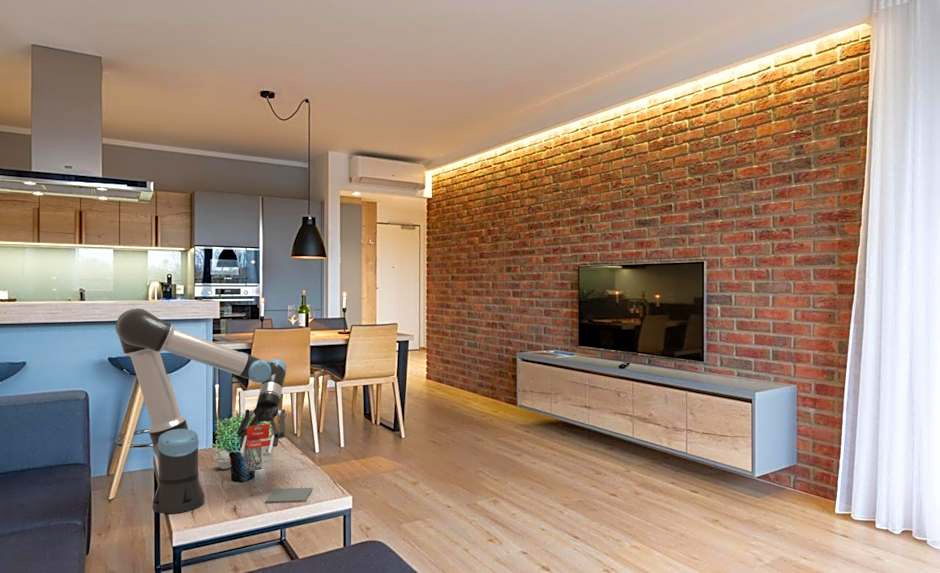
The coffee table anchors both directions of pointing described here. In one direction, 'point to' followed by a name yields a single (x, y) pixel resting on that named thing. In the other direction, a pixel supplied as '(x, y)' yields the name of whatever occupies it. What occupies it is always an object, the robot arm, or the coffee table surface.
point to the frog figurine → (223, 459)
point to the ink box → (258, 448)
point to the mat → (289, 495)
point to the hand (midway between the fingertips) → (256, 454)
